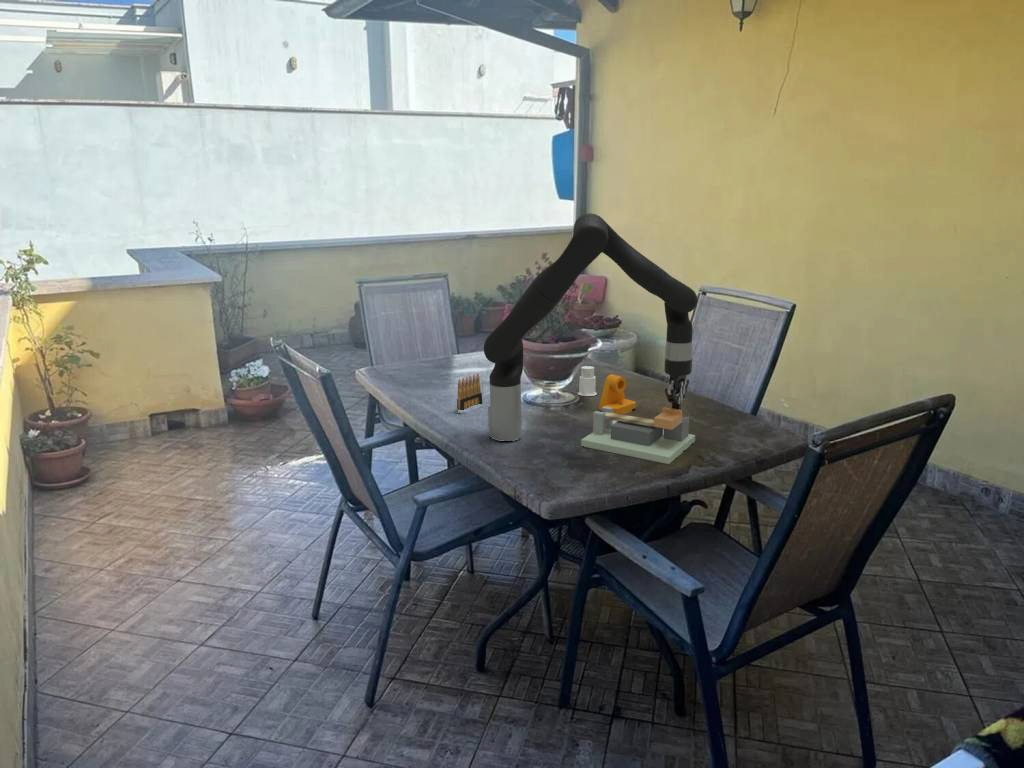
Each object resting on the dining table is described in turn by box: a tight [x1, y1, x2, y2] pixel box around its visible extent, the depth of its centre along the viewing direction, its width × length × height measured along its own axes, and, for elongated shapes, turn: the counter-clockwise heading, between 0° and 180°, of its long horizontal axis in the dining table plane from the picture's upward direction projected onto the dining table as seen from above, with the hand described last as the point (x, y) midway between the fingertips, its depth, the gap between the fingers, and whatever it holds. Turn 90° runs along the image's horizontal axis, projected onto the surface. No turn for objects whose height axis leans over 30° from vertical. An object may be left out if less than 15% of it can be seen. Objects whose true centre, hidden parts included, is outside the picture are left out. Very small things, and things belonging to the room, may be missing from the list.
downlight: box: [577, 365, 598, 397], centre depth 257 cm, size 8×7×10 cm
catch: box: [653, 406, 683, 430], centre depth 201 cm, size 6×7×4 cm
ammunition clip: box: [456, 373, 483, 410], centre depth 242 cm, size 11×2×12 cm, turn 139°
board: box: [580, 406, 696, 465], centre depth 208 cm, size 27×20×8 cm
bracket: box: [598, 373, 637, 415], centre depth 238 cm, size 11×7×12 cm, turn 130°
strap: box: [604, 411, 671, 430], centre depth 208 cm, size 23×3×2 cm, turn 56°
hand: (676, 415), depth 206 cm, fingers closed
